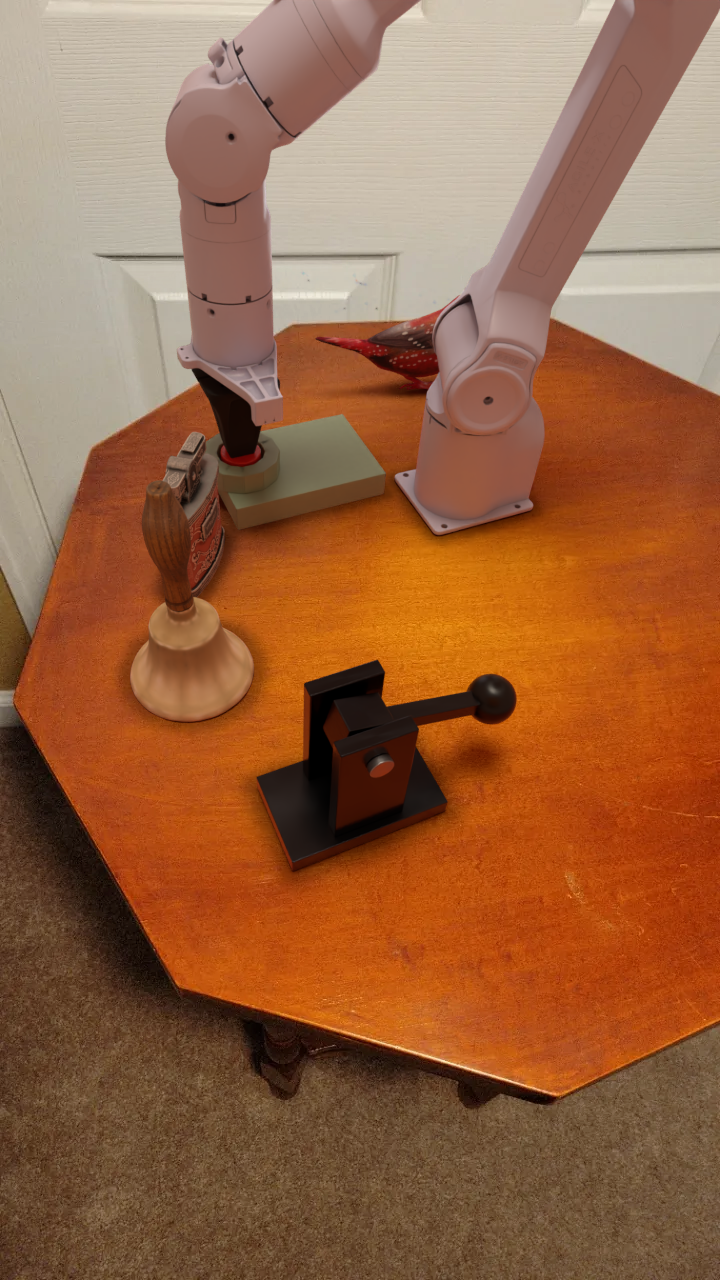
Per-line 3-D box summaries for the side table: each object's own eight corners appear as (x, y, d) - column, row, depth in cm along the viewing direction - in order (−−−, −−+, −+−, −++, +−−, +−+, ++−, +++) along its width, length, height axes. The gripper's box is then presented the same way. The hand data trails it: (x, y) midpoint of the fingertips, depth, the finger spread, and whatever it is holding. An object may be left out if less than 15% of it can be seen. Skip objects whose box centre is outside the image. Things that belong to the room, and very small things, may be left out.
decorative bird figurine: (492, 392, 79) (513, 293, 72) (316, 406, 76) (319, 304, 68) (483, 376, 81) (502, 278, 74) (311, 389, 78) (312, 288, 70)
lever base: (401, 735, 53) (419, 637, 45) (445, 811, 49) (472, 719, 42) (256, 786, 49) (249, 691, 42) (292, 871, 46) (291, 784, 39)
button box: (341, 434, 73) (343, 396, 70) (384, 494, 68) (388, 455, 65) (192, 467, 69) (187, 427, 66) (225, 533, 64) (221, 494, 61)
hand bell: (147, 738, 51) (101, 556, 39) (118, 645, 56) (68, 457, 44) (271, 700, 54) (263, 519, 42) (232, 614, 58) (216, 428, 46)
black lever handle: (488, 692, 50) (507, 660, 48) (513, 730, 48) (534, 697, 46) (317, 725, 44) (331, 689, 42) (339, 768, 43) (354, 734, 41)
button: (253, 453, 67) (252, 435, 66) (267, 475, 65) (266, 458, 64) (216, 461, 66) (215, 443, 65) (229, 484, 64) (227, 466, 63)
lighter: (200, 605, 59) (186, 499, 51) (156, 596, 59) (135, 489, 51) (233, 533, 64) (225, 427, 56) (192, 526, 64) (179, 419, 57)
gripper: (142, 245, 57) (166, 411, 67) (204, 348, 49) (220, 519, 59) (237, 233, 59) (246, 395, 69) (312, 329, 51) (309, 497, 61)
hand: (240, 451), depth 64 cm, fingers closed, pressing on button
